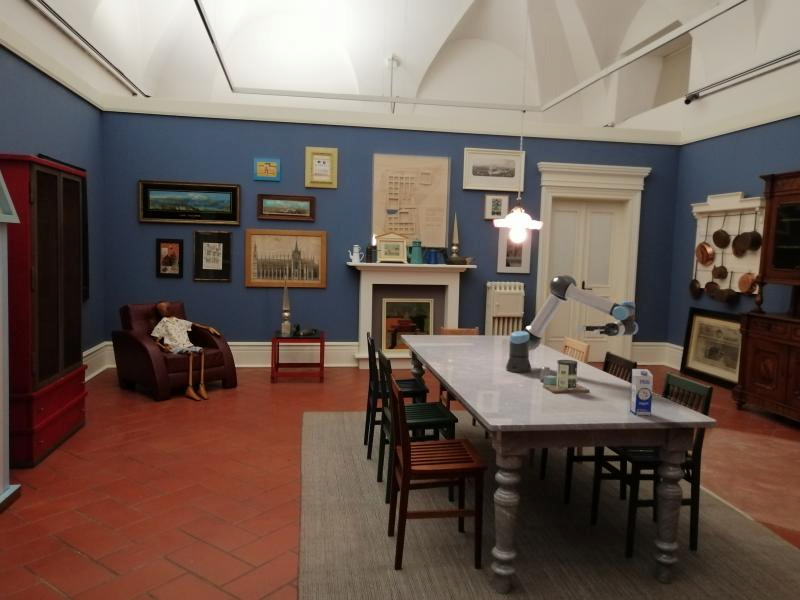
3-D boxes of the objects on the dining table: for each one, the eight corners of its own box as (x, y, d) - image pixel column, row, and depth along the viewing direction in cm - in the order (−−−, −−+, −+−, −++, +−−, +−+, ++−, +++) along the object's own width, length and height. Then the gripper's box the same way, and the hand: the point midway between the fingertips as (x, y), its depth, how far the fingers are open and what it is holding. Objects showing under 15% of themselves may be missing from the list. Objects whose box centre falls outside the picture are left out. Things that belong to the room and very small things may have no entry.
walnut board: (542, 387, 308) (543, 385, 308) (577, 386, 312) (577, 384, 312) (553, 393, 295) (553, 391, 295) (589, 392, 299) (589, 390, 299)
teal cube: (543, 385, 314) (543, 376, 314) (550, 384, 316) (551, 375, 316) (549, 387, 310) (549, 377, 309) (556, 386, 312) (557, 377, 311)
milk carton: (645, 411, 264) (647, 368, 262) (651, 416, 257) (653, 372, 255) (629, 411, 264) (632, 368, 262) (635, 415, 257) (637, 371, 255)
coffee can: (575, 386, 307) (576, 360, 306) (577, 390, 297) (578, 363, 296) (555, 384, 309) (556, 358, 308) (556, 389, 299) (557, 362, 298)
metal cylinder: (538, 380, 324) (539, 366, 323) (546, 380, 325) (547, 366, 324) (542, 382, 319) (543, 368, 318) (550, 382, 320) (551, 368, 319)
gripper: (631, 339, 311) (602, 341, 302) (597, 332, 334) (569, 334, 325) (632, 325, 311) (602, 326, 302) (598, 320, 333) (569, 321, 324)
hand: (585, 330), depth 313 cm, fingers open, 13 cm apart
